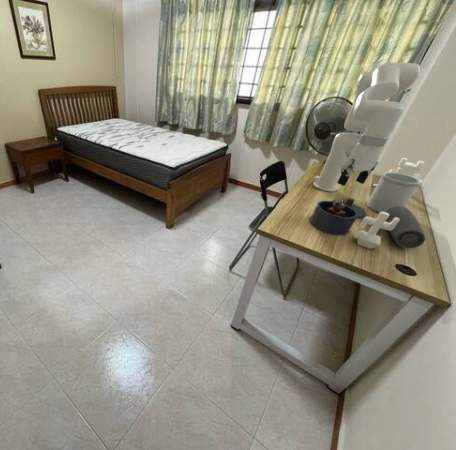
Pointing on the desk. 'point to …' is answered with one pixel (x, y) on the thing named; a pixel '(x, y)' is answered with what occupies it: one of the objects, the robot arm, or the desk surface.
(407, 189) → the utensil holder
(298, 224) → the desk surface
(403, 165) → the white branched piece
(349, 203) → the pot lid
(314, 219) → the pot
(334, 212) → the toy bear
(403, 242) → the bluetooth speaker
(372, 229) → the figurine
